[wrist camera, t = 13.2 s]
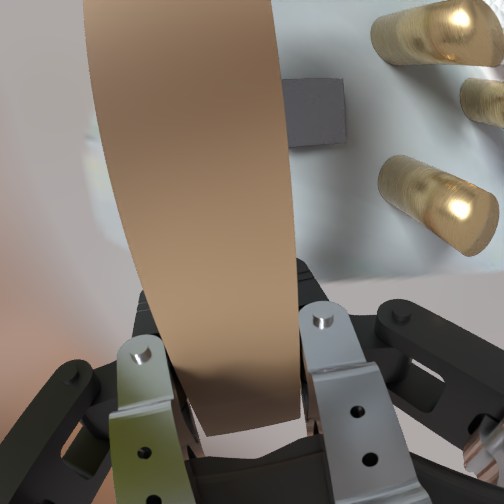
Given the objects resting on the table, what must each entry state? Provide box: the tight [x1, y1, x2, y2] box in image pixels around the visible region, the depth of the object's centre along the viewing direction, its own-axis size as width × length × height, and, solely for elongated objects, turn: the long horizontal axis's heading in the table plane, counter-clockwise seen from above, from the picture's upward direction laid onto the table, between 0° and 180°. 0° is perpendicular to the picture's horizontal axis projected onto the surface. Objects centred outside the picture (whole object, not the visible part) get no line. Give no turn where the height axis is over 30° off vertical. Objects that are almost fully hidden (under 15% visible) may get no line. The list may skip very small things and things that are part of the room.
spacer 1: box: [371, 0, 504, 67], centre depth 13 cm, size 4×4×9 cm
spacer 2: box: [378, 155, 499, 257], centre depth 18 cm, size 4×4×9 cm
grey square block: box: [281, 79, 346, 147], centre depth 18 cm, size 4×4×2 cm
